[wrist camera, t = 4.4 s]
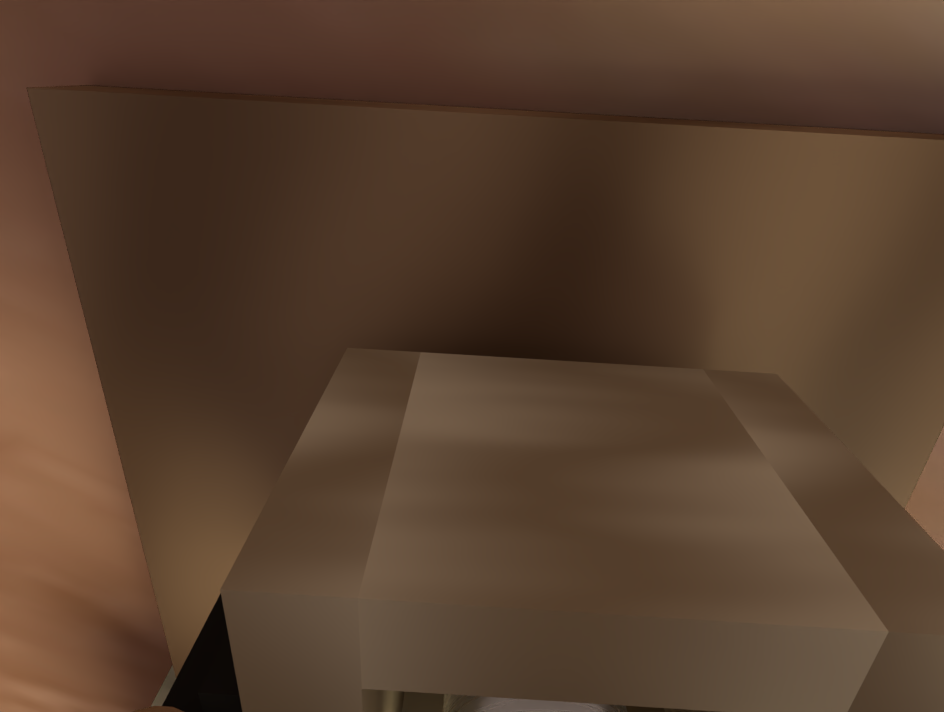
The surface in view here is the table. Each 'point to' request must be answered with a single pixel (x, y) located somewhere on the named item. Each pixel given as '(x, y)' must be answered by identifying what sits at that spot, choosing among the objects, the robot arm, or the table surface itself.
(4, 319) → the table surface
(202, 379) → the stake board
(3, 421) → the table surface
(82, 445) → the table surface
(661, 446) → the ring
